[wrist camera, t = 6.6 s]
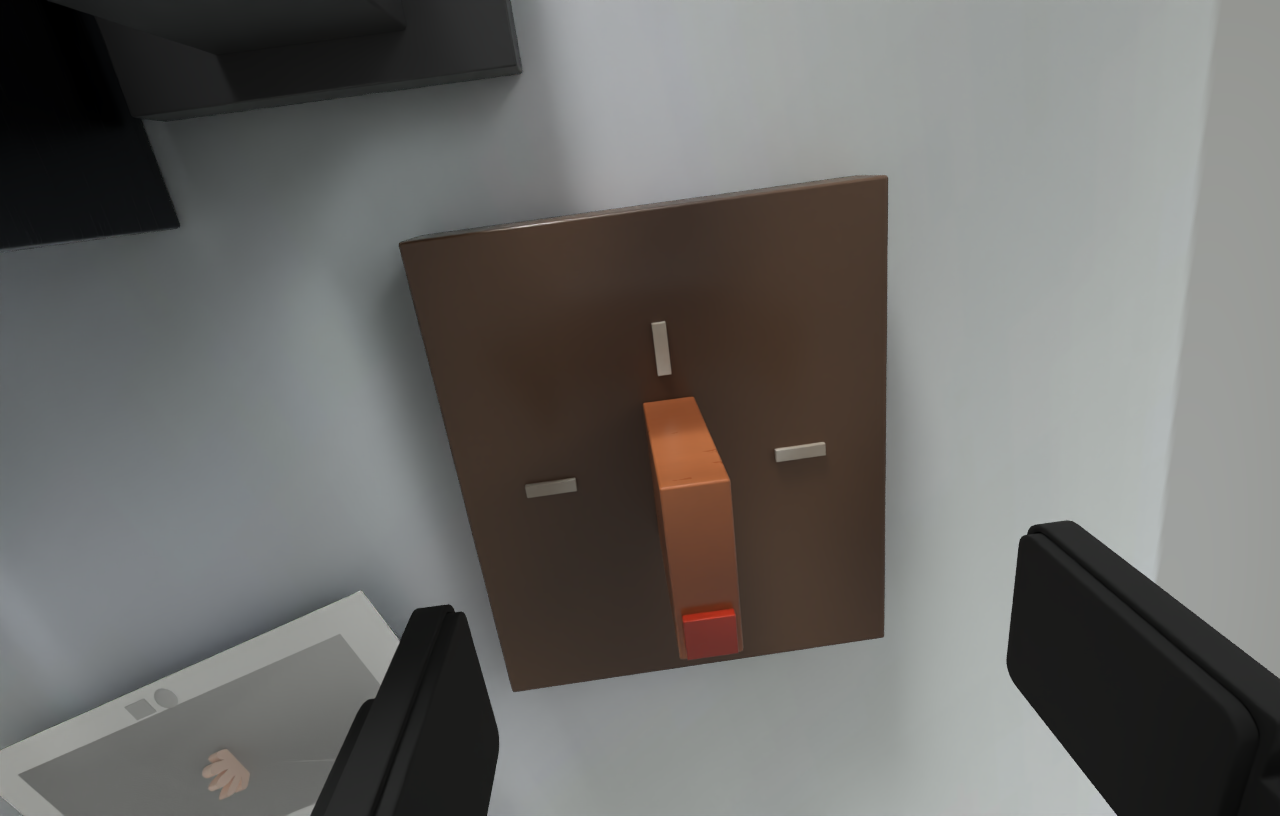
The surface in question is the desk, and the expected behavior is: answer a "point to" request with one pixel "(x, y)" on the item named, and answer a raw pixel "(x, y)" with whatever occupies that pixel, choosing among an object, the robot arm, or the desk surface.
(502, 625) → the browning dial
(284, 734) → the touchpad
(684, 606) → the knob
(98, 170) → the toaster
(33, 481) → the desk surface
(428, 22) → the lever bracket
